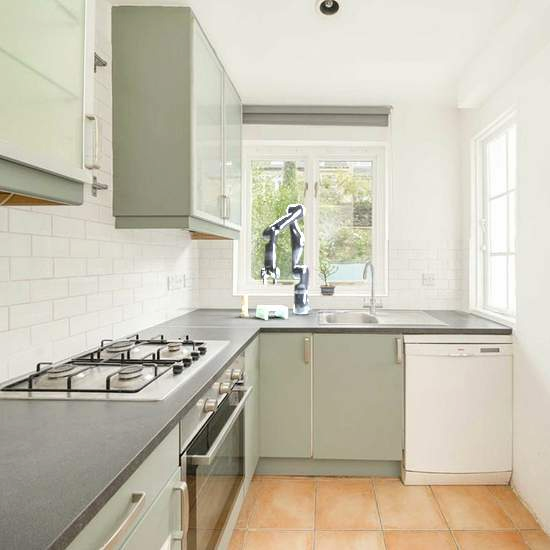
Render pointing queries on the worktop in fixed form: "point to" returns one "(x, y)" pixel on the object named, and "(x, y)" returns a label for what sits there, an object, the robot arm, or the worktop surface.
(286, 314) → the shelf
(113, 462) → the worktop surface
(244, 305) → the stick
